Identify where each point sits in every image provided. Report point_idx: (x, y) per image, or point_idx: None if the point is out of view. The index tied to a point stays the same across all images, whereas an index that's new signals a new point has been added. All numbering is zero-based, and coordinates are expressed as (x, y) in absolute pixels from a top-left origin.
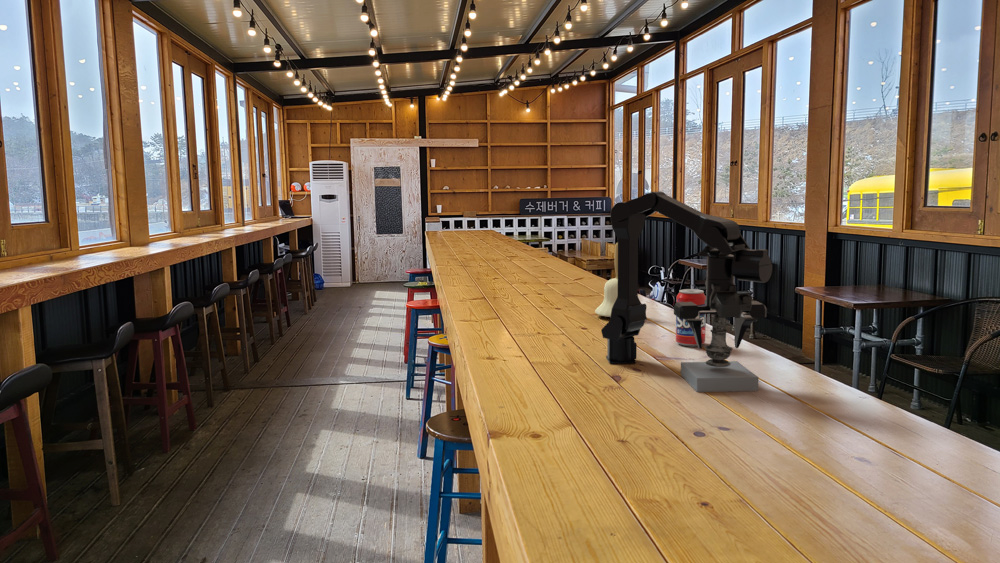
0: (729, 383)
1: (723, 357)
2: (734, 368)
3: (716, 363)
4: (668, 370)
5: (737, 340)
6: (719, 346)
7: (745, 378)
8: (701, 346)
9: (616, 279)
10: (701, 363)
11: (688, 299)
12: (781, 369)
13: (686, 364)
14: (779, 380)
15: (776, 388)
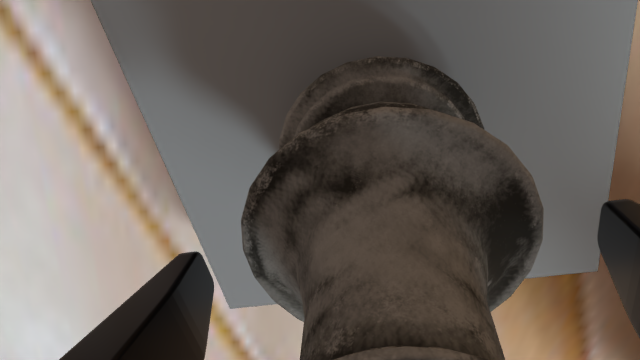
0: None
1: (348, 108)
2: (252, 164)
3: (408, 98)
4: (601, 283)
5: (161, 309)
6: (398, 195)
7: None
8: (618, 215)
9: None
10: None
11: None
12: (44, 325)
13: (578, 229)
14: (21, 169)
15: (6, 5)
